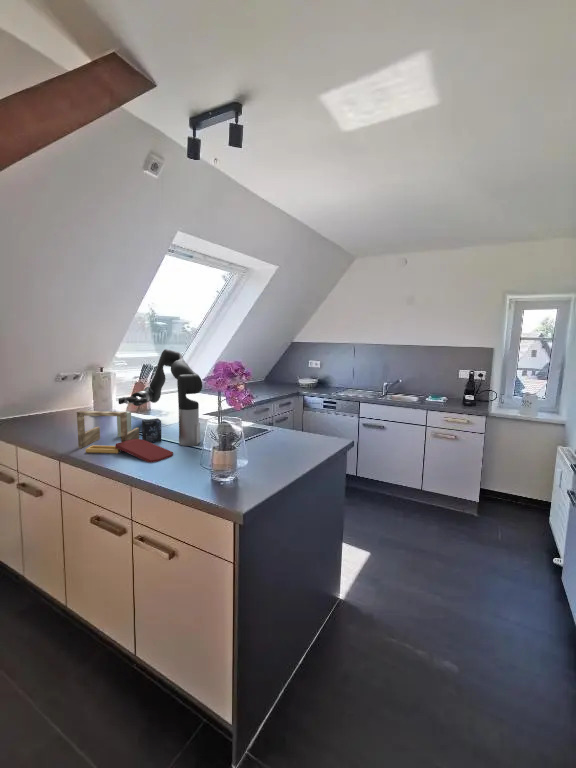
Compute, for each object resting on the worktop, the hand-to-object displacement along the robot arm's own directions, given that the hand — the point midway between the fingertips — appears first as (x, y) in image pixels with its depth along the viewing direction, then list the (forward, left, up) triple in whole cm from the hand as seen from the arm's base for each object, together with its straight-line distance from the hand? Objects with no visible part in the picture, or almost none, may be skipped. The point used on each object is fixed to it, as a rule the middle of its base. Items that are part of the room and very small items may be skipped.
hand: (127, 402), depth 192 cm
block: (0, +5, -16) cm, 17 cm away
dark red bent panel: (-21, +34, -17) cm, 43 cm away
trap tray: (-3, +32, -16) cm, 36 cm away
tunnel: (0, +20, -16) cm, 26 cm away
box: (-17, +14, -17) cm, 28 cm away
